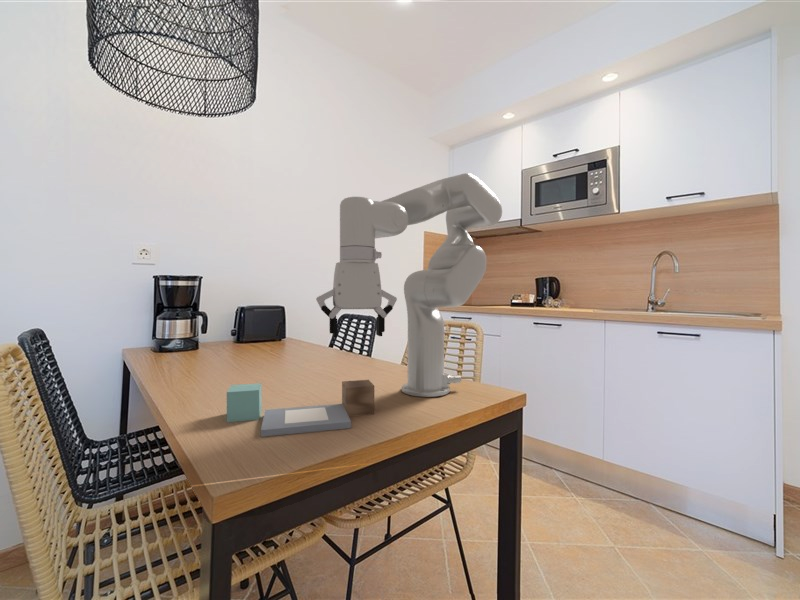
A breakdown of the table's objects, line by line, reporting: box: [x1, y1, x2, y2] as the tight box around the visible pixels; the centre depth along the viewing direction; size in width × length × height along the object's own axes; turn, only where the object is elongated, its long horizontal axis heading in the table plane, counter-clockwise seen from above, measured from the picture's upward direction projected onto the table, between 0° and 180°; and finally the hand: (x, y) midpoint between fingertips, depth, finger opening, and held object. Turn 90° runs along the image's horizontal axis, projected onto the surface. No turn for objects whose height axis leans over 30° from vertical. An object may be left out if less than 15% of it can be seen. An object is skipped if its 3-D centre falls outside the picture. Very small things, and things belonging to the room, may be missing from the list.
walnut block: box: [341, 379, 375, 417], centre depth 81 cm, size 6×6×6 cm
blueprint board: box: [260, 403, 352, 438], centre depth 74 cm, size 16×12×1 cm
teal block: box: [226, 383, 263, 423], centre depth 77 cm, size 6×6×6 cm
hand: (357, 336), depth 81 cm, fingers open, 9 cm apart
